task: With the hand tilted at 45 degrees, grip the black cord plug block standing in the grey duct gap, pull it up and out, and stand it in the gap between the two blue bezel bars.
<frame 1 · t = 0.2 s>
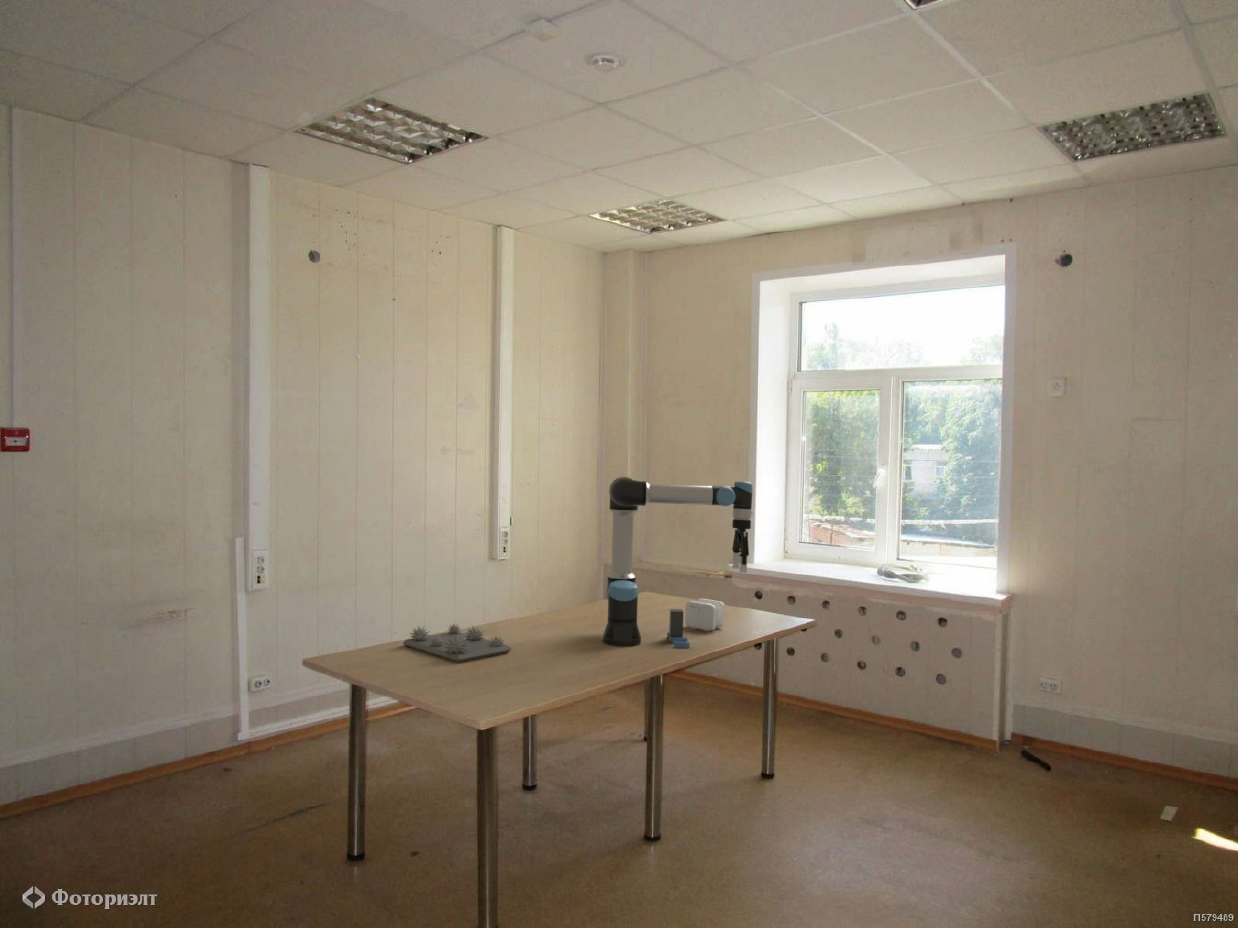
hand: (739, 570, 342), 28 cm above the table, tool pointing down, fingers open, 13 cm apart
cord plug block: (675, 639, 334), on the table
grey duct gap: (675, 639, 334), on the table
decorative tray: (455, 651, 307), on the table
blue bezel gap: (680, 645, 325), on the table
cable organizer: (704, 628, 358), on the table
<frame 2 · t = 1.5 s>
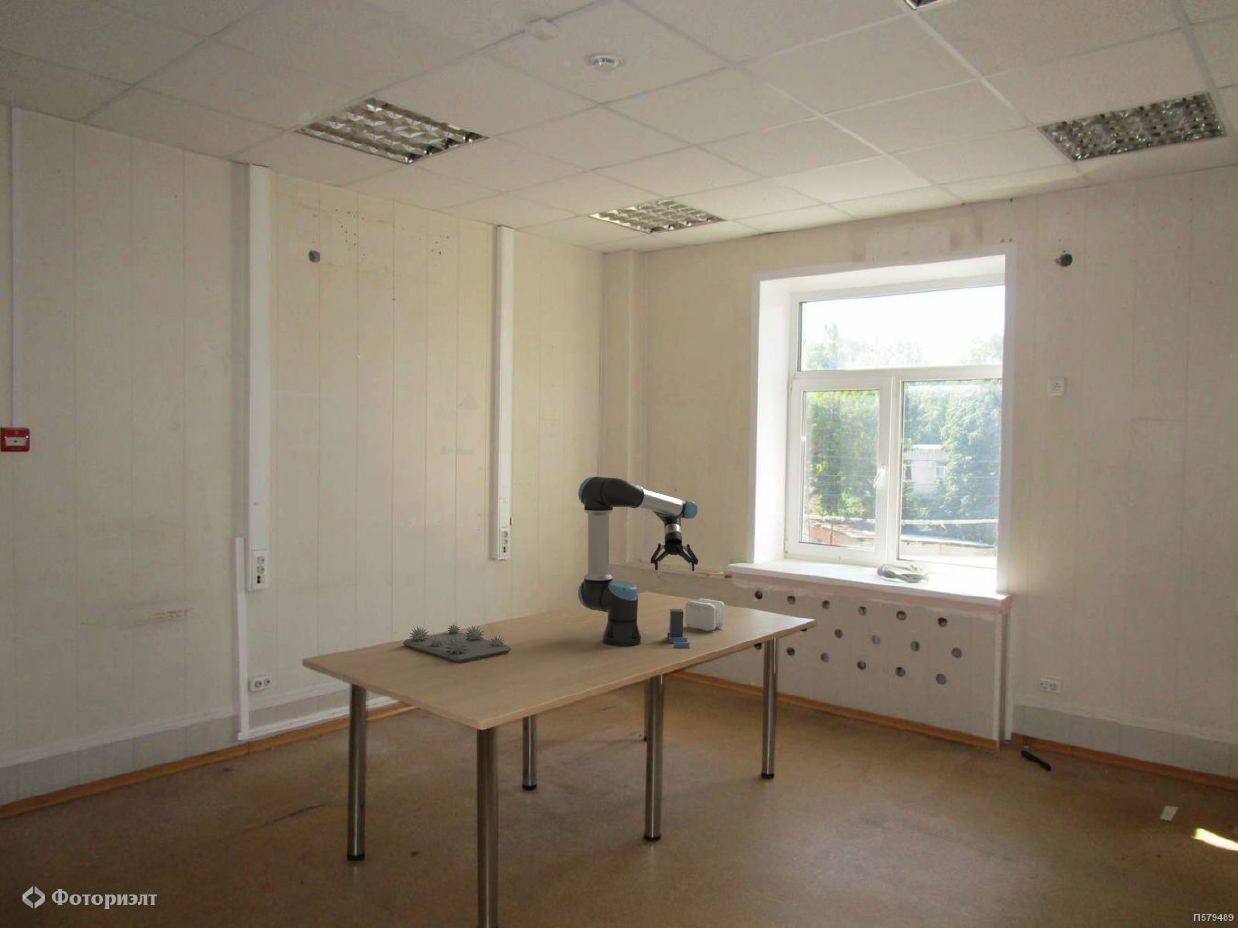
hand: (675, 576, 347), 24 cm above the table, tool tilted 45°, fingers open, 13 cm apart
nothing on the table moved.
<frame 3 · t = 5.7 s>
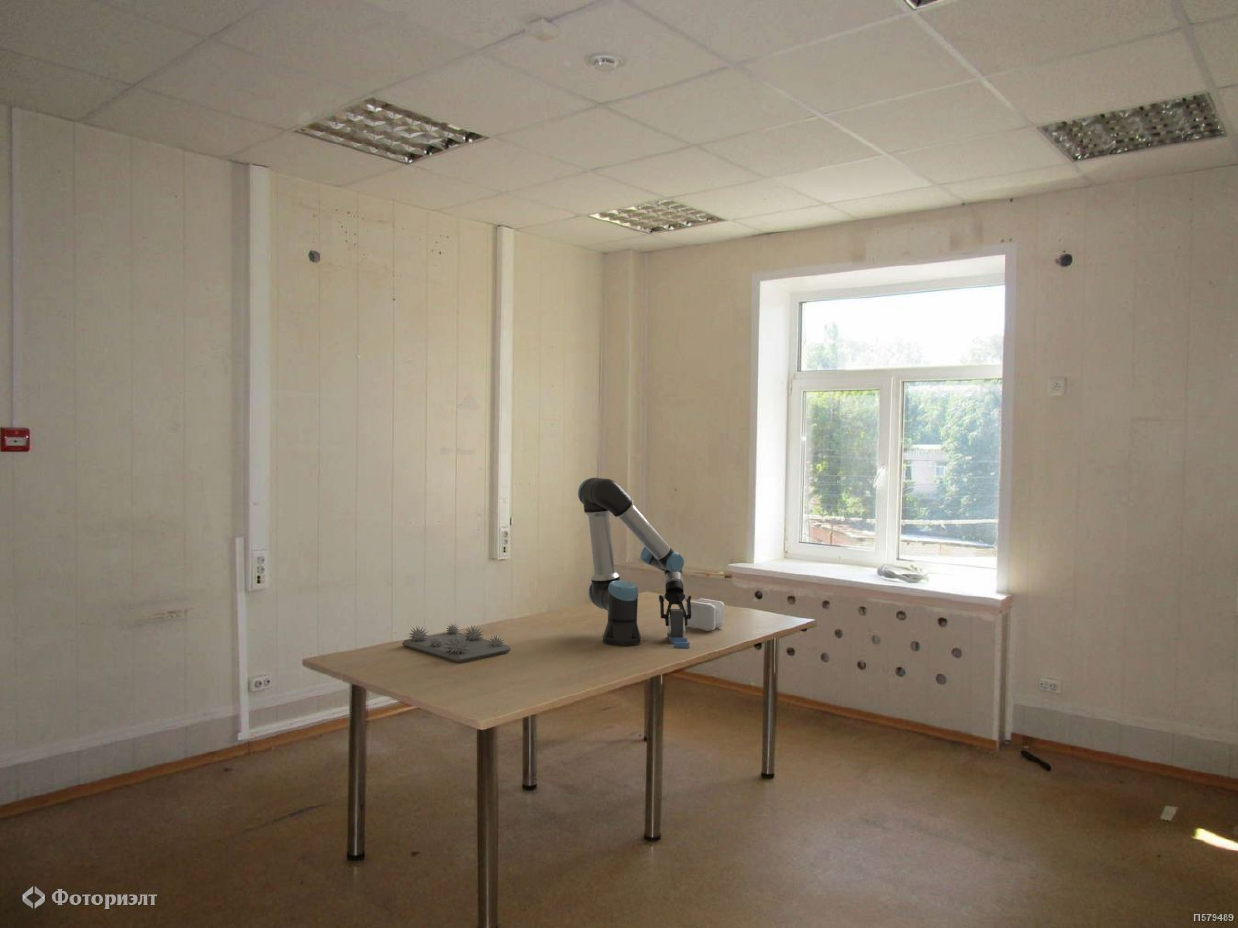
hand: (676, 632, 330), 4 cm above the table, tool tilted 45°, fingers closed on cord plug block, 5 cm apart
cord plug block: (675, 639, 334), on the table, touching gripper
everything else where it was.
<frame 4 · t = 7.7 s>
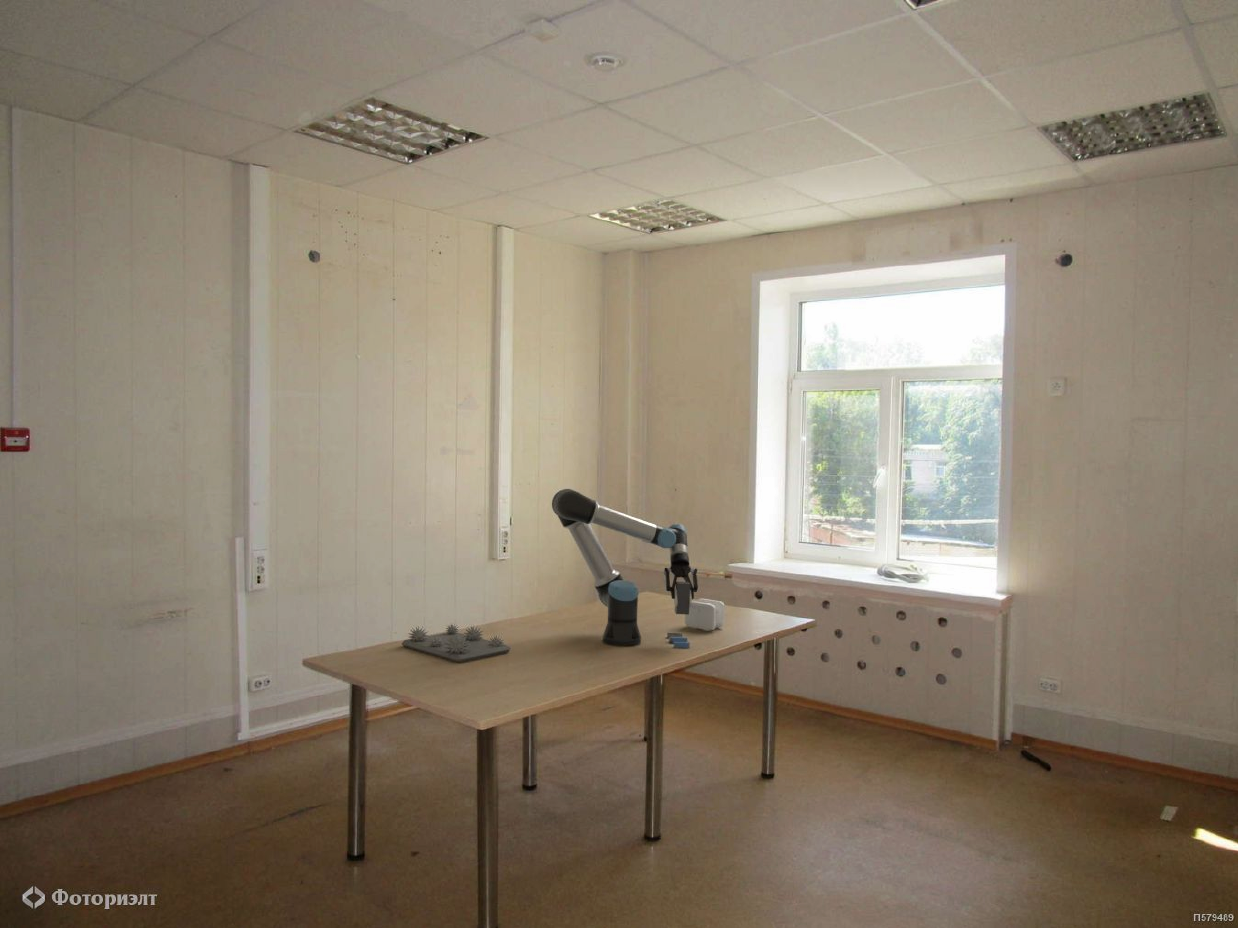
hand: (683, 605, 323), 16 cm above the table, tool tilted 45°, fingers closed on cord plug block, 5 cm apart
cord plug block: (681, 613, 326), point 12 cm above the table, touching gripper
everything else where it was.
when the fingers open (5 cm above the table, at t = 10.2 s): cord plug block drops 1 cm, on the table.
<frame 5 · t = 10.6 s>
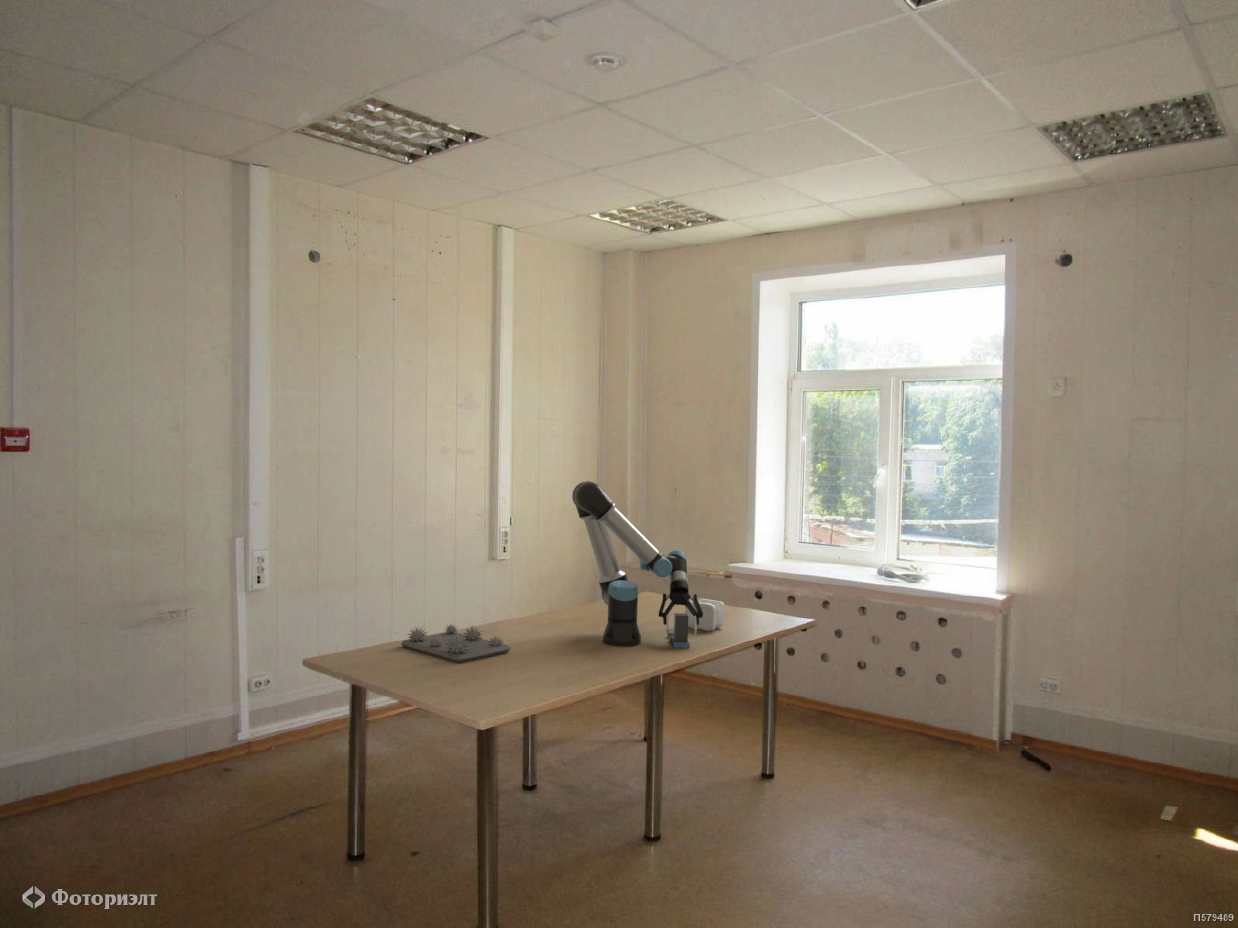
hand: (681, 631, 322), 6 cm above the table, tool tilted 45°, fingers open, 10 cm apart
cord plug block: (680, 645, 325), on the table
everything else where it was.
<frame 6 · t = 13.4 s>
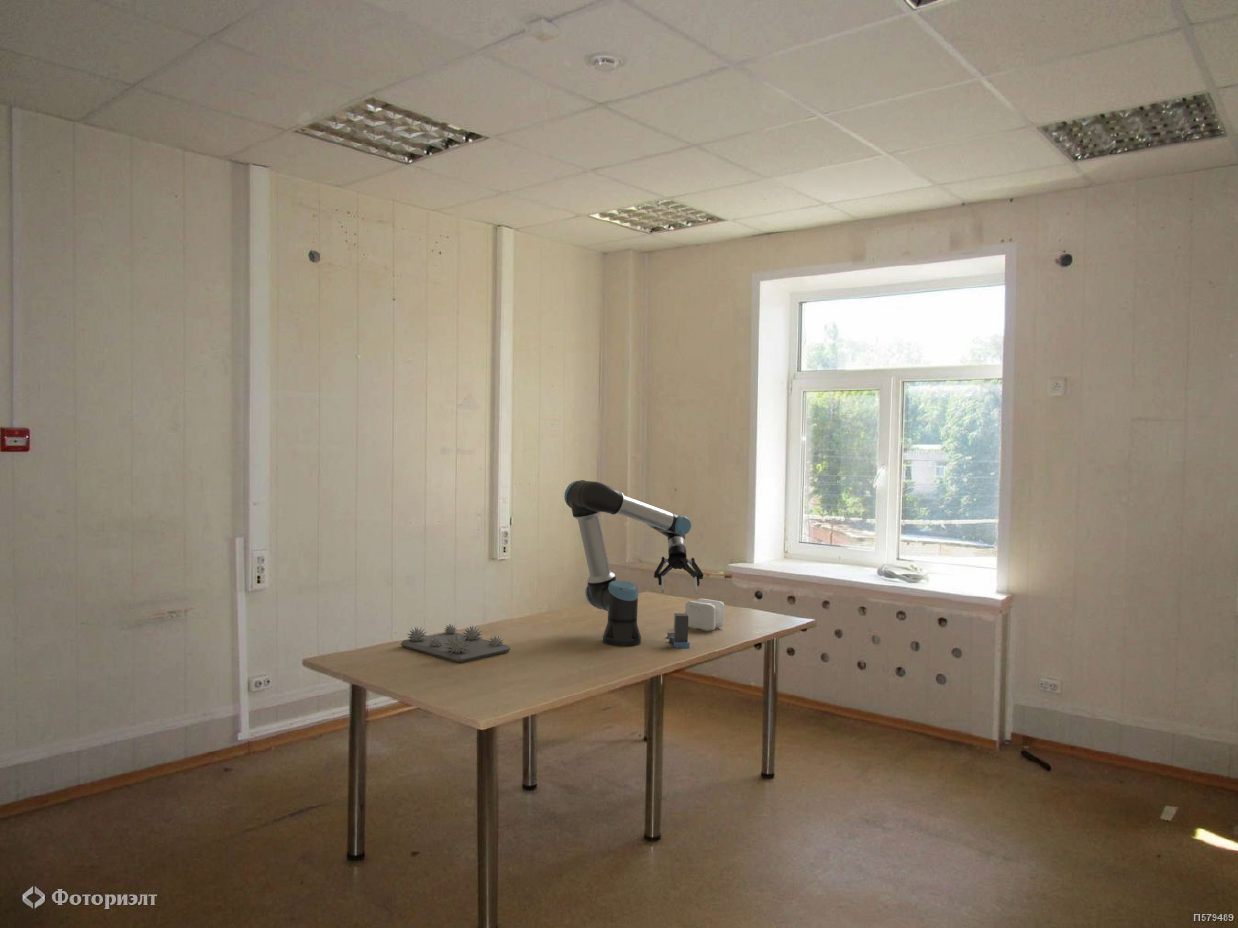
hand: (679, 591, 335), 19 cm above the table, tool tilted 45°, fingers open, 13 cm apart
nothing on the table moved.
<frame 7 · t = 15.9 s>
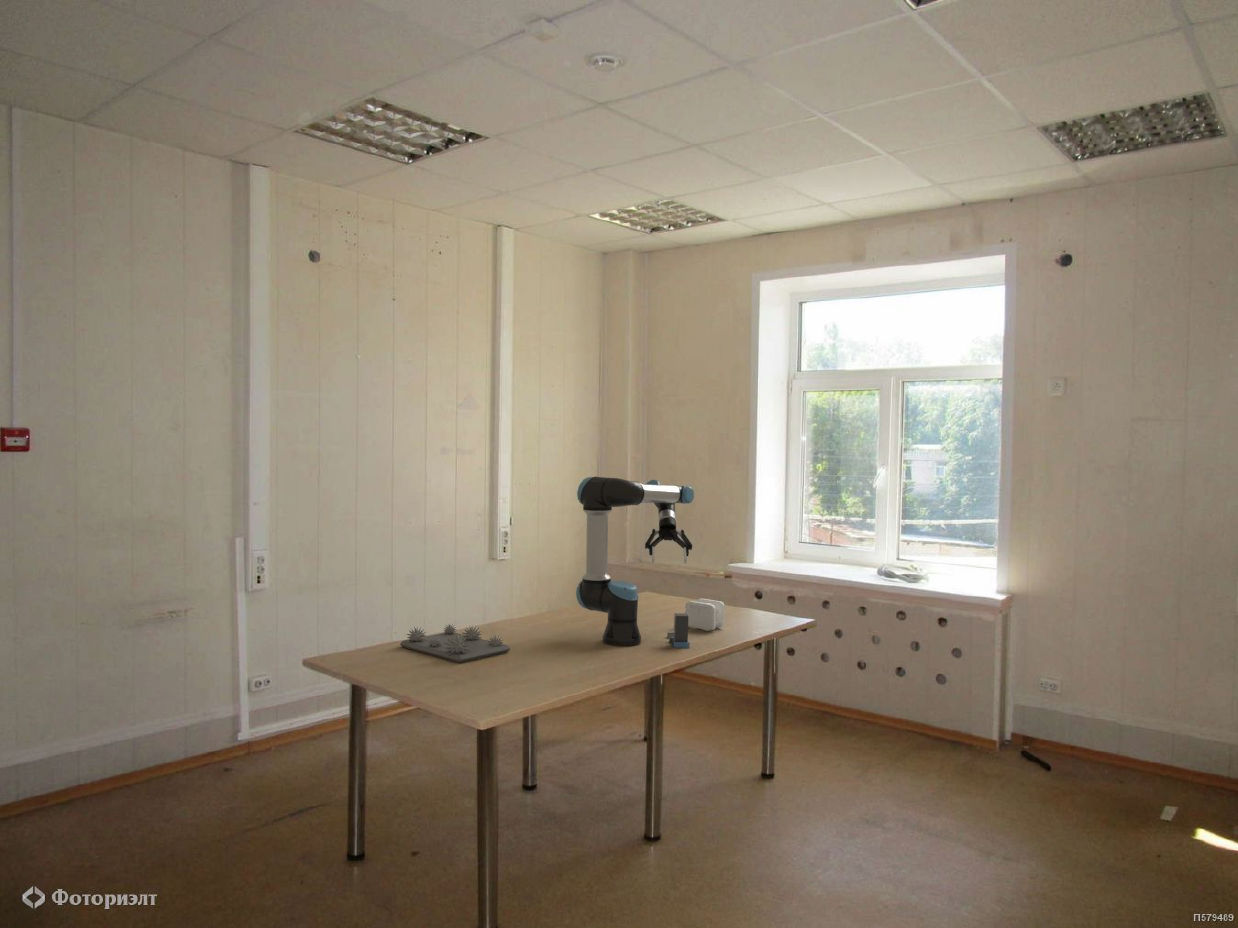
hand: (669, 561, 349), 30 cm above the table, tool tilted 45°, fingers open, 13 cm apart
at the end: cord plug block 0.0 cm off-centre on the blue bezel gap, point 0.0 cm above the blue bezel gap's base; cord plug block tilted 0°; the gripper is holding nothing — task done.
